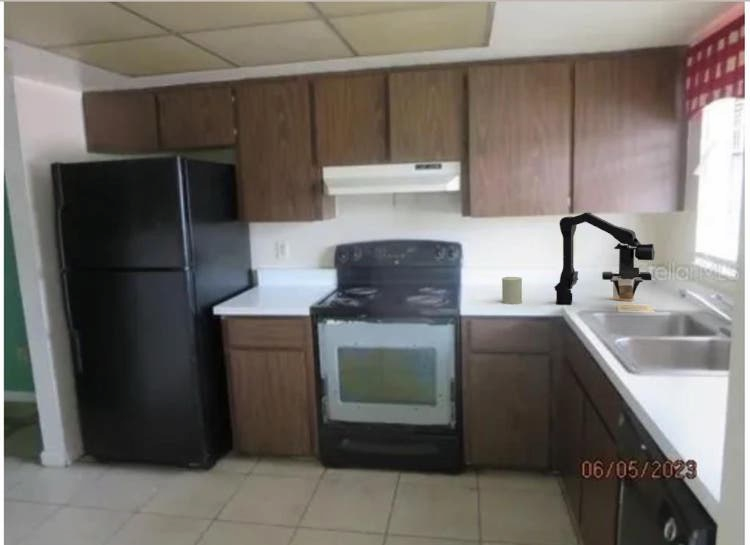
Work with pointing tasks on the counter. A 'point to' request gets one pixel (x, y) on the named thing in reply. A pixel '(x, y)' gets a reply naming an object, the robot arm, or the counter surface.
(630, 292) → the walnut cube
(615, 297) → the supplement box
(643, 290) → the counter surface
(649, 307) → the letter
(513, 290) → the can
